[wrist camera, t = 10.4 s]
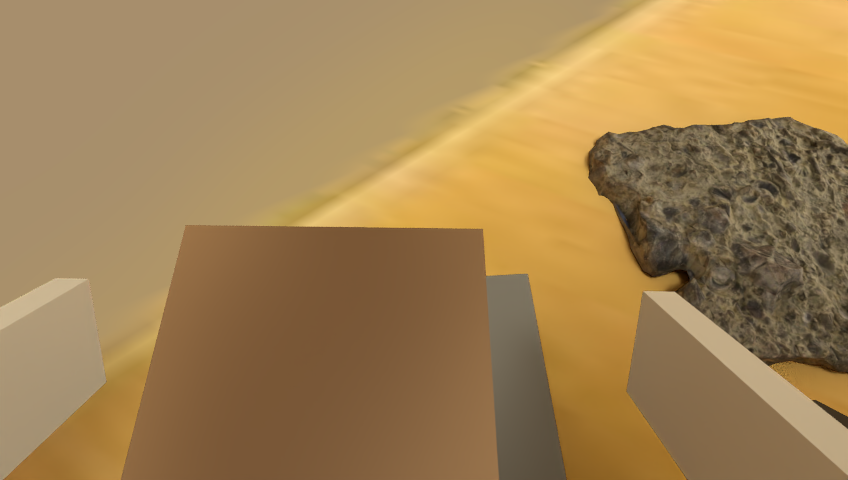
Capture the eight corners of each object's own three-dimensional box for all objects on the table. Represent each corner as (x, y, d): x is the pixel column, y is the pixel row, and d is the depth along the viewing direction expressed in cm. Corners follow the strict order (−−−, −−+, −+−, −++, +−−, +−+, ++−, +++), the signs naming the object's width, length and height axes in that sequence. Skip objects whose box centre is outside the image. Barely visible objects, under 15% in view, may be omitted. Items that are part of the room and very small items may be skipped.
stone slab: (1022, 369, 21) (1109, 347, 19) (633, 385, 20) (668, 365, 18) (879, 139, 27) (930, 98, 25) (573, 143, 26) (593, 101, 24)
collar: (507, 313, 21) (527, 273, 18) (561, 644, 16) (604, 681, 12) (238, 330, 20) (203, 292, 17) (203, 681, 15) (142, 732, 12)
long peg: (435, 410, 19) (482, 229, 7) (436, 532, 17) (505, 580, 5) (329, 410, 19) (185, 225, 7) (318, 533, 17) (93, 582, 5)
